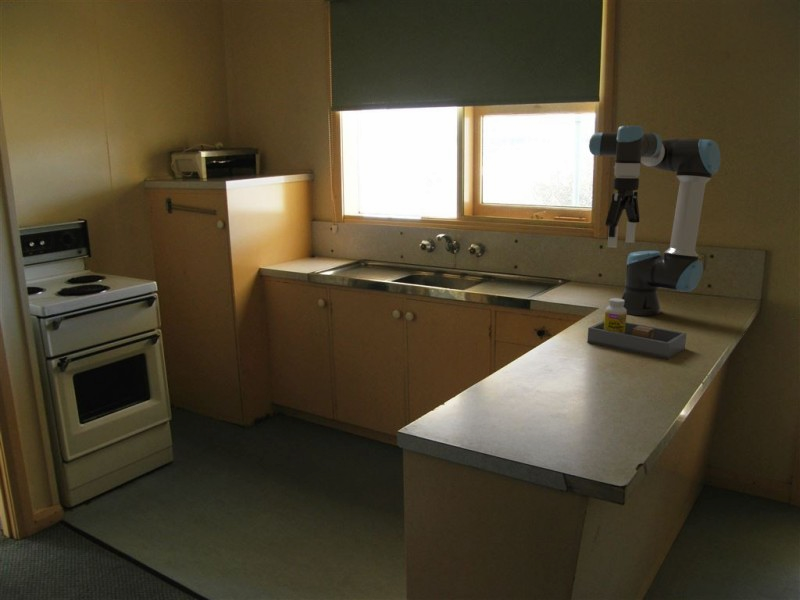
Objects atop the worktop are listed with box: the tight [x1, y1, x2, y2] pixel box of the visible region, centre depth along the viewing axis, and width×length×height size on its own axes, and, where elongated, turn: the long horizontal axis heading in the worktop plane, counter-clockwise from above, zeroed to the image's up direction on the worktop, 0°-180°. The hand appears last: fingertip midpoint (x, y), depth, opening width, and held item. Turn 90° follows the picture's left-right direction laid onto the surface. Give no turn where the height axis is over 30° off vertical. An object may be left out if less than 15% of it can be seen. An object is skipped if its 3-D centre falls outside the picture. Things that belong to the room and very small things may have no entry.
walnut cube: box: [632, 326, 654, 339], centre depth 222 cm, size 5×5×5 cm
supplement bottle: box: [603, 297, 628, 334], centre depth 227 cm, size 7×7×13 cm
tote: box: [586, 320, 687, 360], centre depth 223 cm, size 15×26×5 cm, turn 49°
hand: (621, 245), depth 221 cm, fingers open, 13 cm apart
